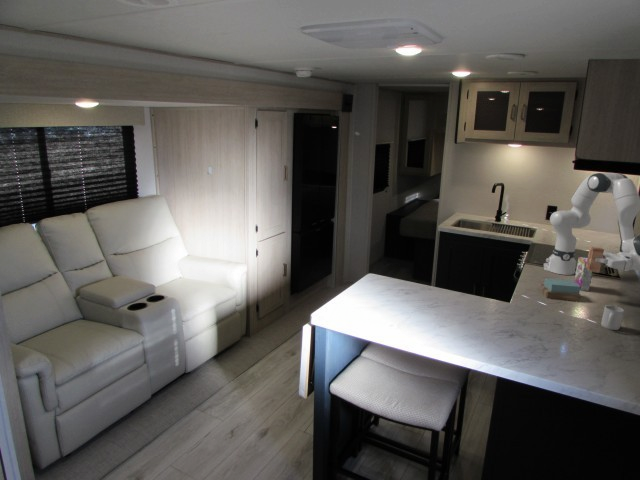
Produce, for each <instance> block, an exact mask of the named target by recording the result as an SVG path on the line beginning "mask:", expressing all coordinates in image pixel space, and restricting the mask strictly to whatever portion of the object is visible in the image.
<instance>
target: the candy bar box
mask: <svg viewBox="0 0 640 480" xmlns="http://www.w3.org/2000/svg"><path fill="white" fill-rule="evenodd" d="M587 259H588V257H582V256H581V257H580V256H579V257H578V259H577V263H576V268H575V271H576V274H574V276H575V277H574V280H573V281H574V282H575V283H576V284H577V285H579V286H580V291H581V292H589V291H590V289H591V283H592V278H593V273H594V271H588V270H587V269H586V264H587Z"/></svg>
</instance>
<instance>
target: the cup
mask: <svg viewBox="0 0 640 480" xmlns="http://www.w3.org/2000/svg"><path fill="white" fill-rule="evenodd" d="M624 311H625V310H624V309H623V308H622V307H619V306H616V305H609V304H606V305H604V308H603V313H602V318H601V323H600V324H601V327H603V328H605V329H607V330H612V331H618V330H619V329H620V328H621V324H622V319H623V315H624Z"/></svg>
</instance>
